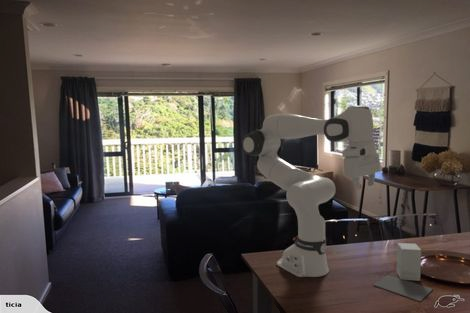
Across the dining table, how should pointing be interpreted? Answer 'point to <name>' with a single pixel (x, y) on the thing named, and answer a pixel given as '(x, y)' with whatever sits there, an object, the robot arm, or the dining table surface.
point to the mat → (403, 287)
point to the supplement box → (408, 261)
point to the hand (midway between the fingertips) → (364, 187)
